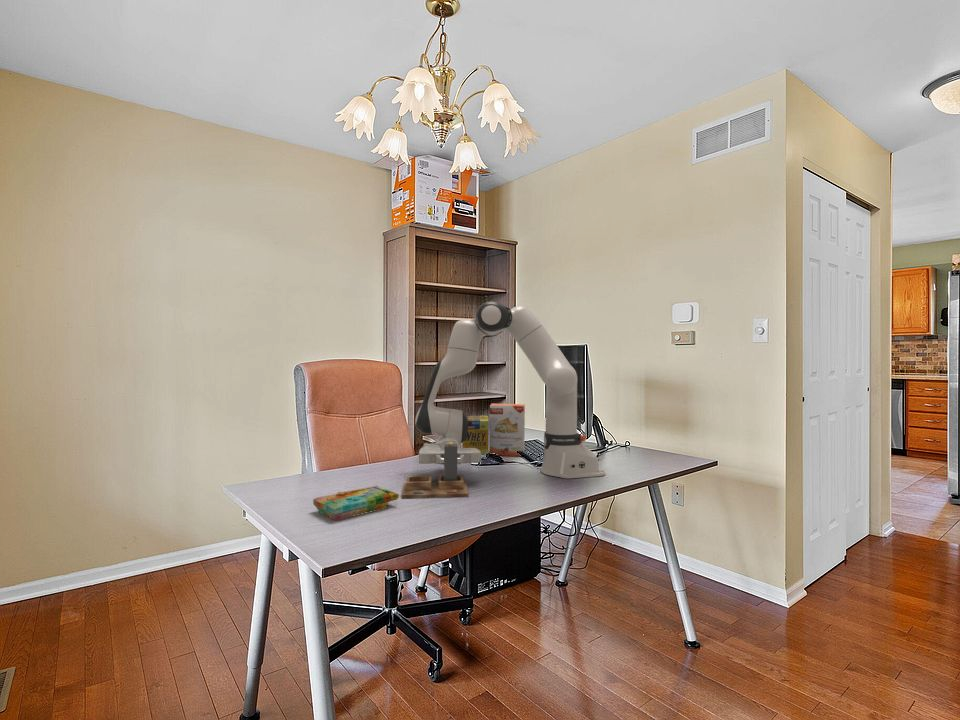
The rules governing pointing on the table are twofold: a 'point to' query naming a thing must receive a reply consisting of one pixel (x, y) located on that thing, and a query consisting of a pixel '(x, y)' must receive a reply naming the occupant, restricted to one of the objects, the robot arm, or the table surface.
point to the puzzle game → (354, 502)
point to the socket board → (433, 487)
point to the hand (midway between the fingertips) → (450, 461)
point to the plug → (450, 462)
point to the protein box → (477, 433)
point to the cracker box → (507, 429)
